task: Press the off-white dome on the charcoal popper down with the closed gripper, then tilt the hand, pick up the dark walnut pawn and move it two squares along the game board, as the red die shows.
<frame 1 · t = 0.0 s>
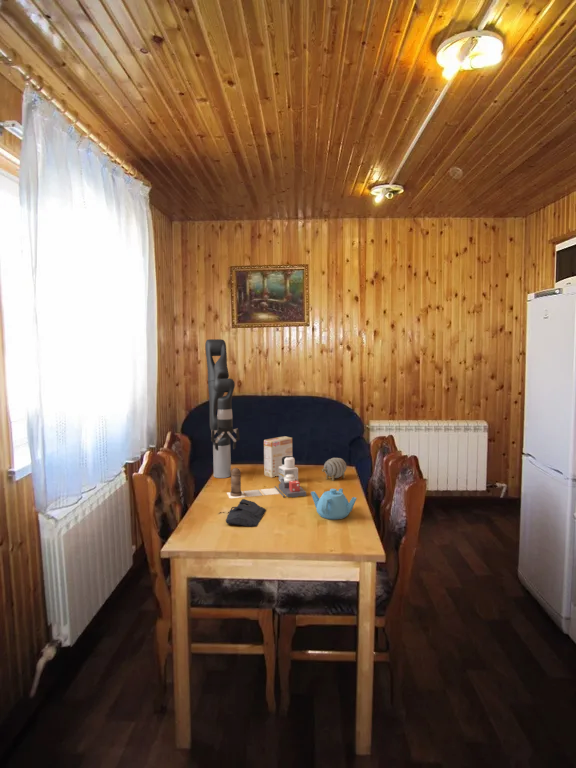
hand: (225, 449, 246), 17 cm above the table, tool pointing down, fingers open, 8 cm apart
popper: (292, 491, 232), on the table
board: (253, 495, 226), on the table
container: (288, 482, 249), on the table
dome: (289, 479, 235), point 5 cm above the table, slide at 0.0 cm
coffeecake box: (278, 474, 264), on the table
toy sheep: (334, 479, 254), on the table
teapot: (333, 514, 201), on the table
black folded cloth: (244, 518, 199), on the table
pawn: (236, 494, 224), point 1 cm above the table, touching board
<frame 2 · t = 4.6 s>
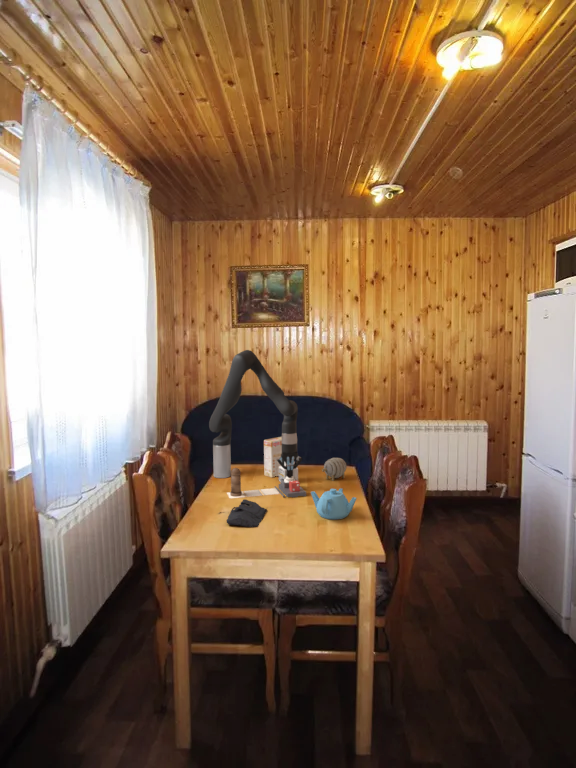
hand: (289, 477, 235), 6 cm above the table, tool pointing down, fingers closed
dome: (289, 481, 235), point 4 cm above the table, slide at 1.0 cm, touching gripper
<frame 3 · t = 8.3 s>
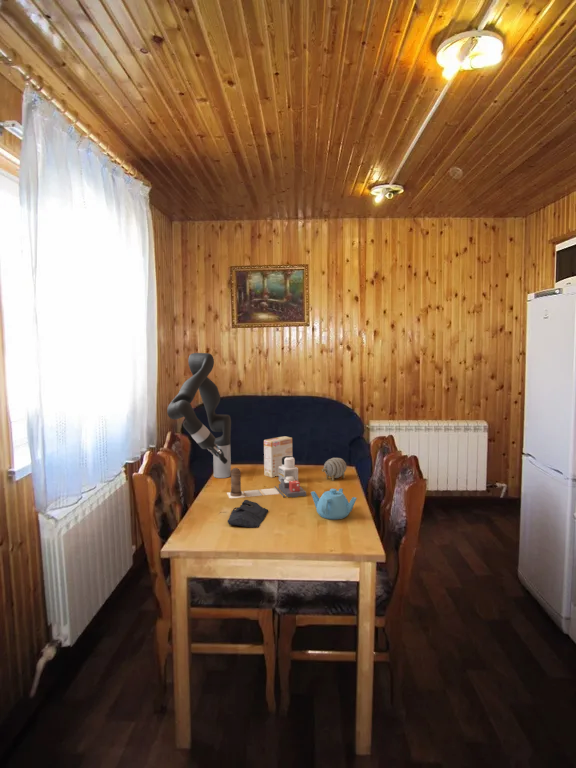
hand: (225, 462, 221), 17 cm above the table, tool tilted 40°, fingers closed
dome: (289, 481, 235), point 4 cm above the table, slide at 1.0 cm
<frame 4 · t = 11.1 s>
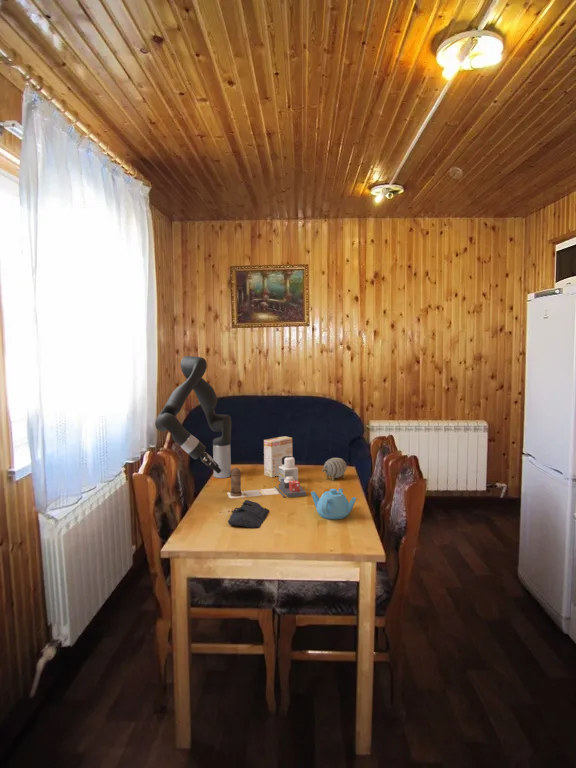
hand: (218, 469, 221), 14 cm above the table, tool tilted 45°, fingers open, 8 cm apart
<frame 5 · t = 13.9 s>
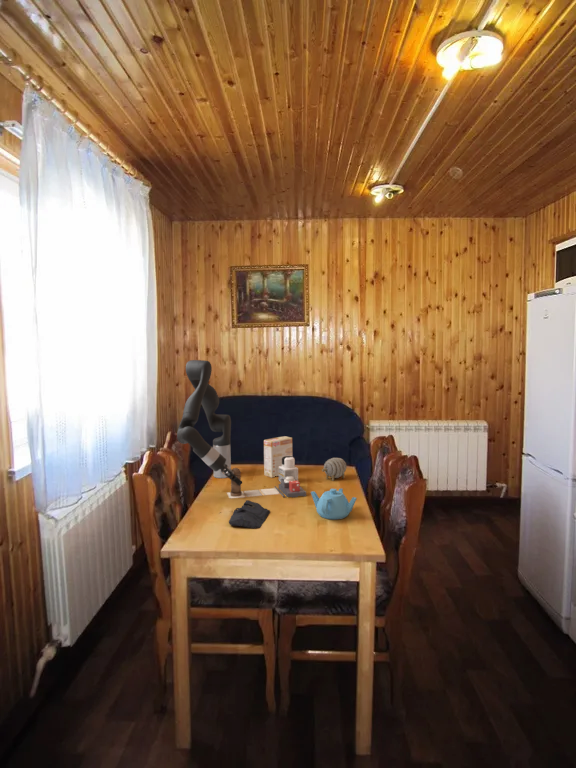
hand: (240, 482, 224), 7 cm above the table, tool tilted 45°, fingers closed on pawn, 4 cm apart
pawn: (236, 494, 224), point 1 cm above the table, touching board, gripper
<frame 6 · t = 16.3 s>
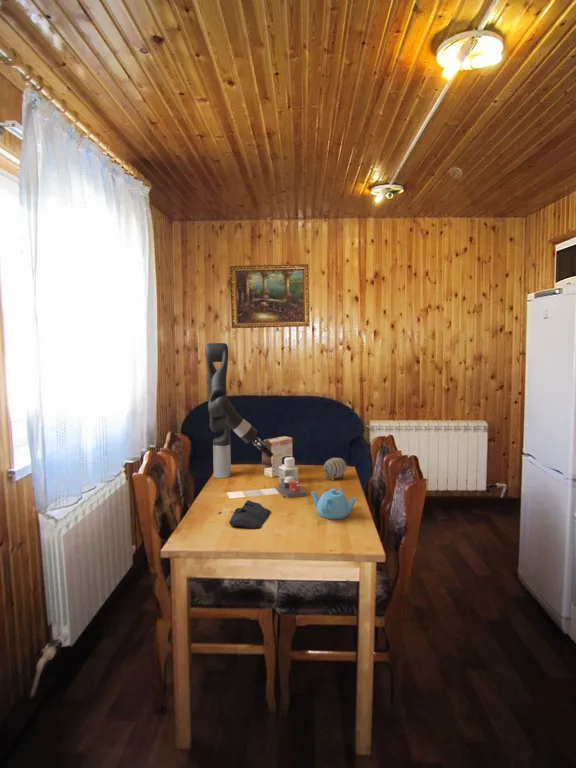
hand: (270, 454, 227), 19 cm above the table, tool tilted 45°, fingers closed on pawn, 4 cm apart
pawn: (266, 466, 227), point 13 cm above the table, touching gripper
when the fingers open (8 cm above the table, at t = 18.9 s): pawn drops 1 cm, resting on board.
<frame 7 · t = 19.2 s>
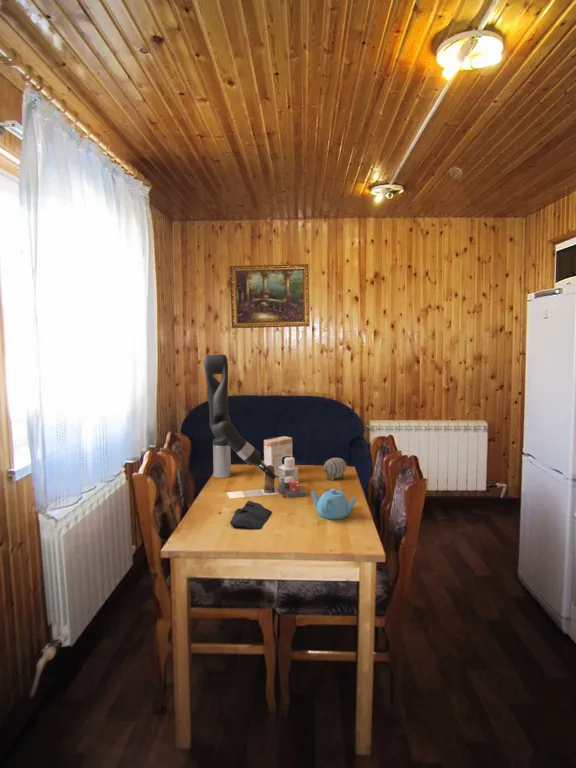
hand: (272, 475, 228), 9 cm above the table, tool tilted 45°, fingers open, 7 cm apart
pawn: (269, 491, 228), point 1 cm above the table, touching board
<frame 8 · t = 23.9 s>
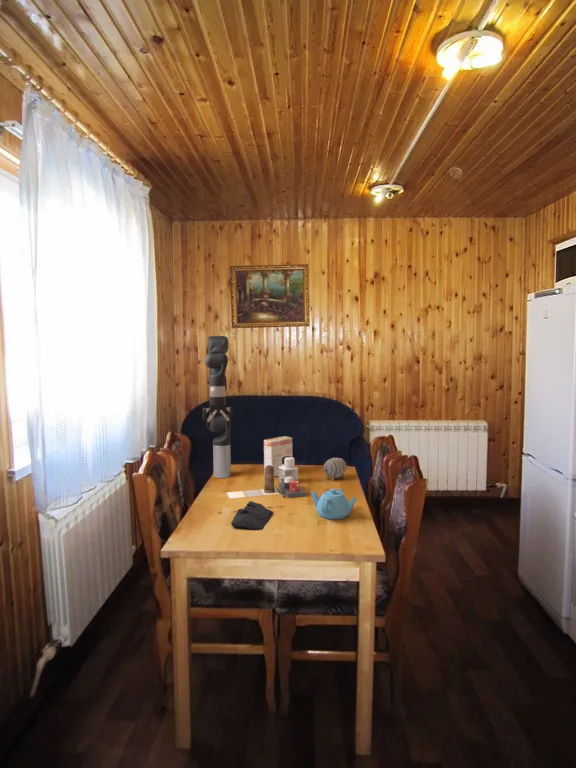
hand: (218, 429, 233), 30 cm above the table, tool pointing down, fingers open, 8 cm apart
at the end: dome slide at 1.0 cm; pawn 0.9 cm from the target spot on the board, point 1.2 cm above the board's base; pawn tilted 0° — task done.
